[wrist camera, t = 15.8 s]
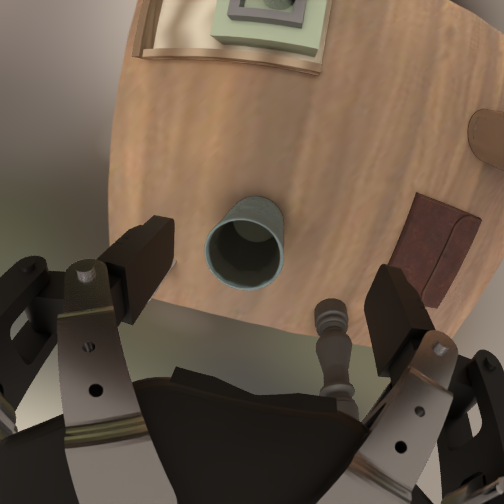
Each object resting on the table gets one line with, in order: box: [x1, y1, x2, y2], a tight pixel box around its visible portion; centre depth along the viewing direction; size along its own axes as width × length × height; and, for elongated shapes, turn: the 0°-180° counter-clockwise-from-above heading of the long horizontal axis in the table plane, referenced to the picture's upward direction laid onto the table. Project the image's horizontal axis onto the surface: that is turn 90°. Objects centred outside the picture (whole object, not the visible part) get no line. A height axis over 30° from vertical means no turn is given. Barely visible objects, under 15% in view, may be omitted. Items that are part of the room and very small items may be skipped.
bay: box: [132, 0, 332, 76], centre depth 28 cm, size 26×18×5 cm
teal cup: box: [204, 196, 284, 290], centre depth 41 cm, size 10×10×12 cm
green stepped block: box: [210, 0, 327, 57], centre depth 25 cm, size 13×13×8 cm
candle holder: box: [315, 299, 359, 421], centre depth 42 cm, size 6×6×25 cm
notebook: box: [388, 193, 482, 308], centre depth 44 cm, size 15×20×2 cm
